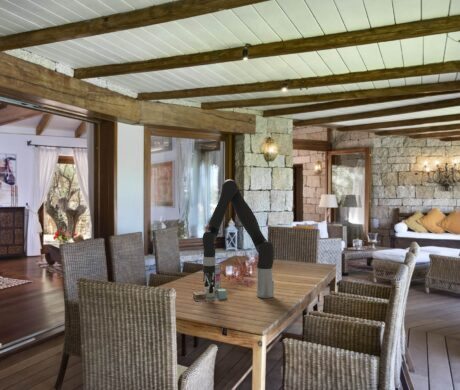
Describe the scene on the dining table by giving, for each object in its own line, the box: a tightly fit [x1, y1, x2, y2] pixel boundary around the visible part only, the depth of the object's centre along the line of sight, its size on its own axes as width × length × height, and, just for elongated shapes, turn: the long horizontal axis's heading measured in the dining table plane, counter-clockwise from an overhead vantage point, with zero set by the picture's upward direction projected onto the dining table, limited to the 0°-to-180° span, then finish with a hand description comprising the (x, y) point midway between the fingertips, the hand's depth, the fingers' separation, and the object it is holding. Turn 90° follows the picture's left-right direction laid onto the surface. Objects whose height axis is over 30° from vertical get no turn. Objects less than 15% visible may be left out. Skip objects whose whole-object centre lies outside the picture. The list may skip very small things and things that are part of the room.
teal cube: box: [216, 288, 227, 300], centre depth 234 cm, size 4×4×4 cm
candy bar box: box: [203, 263, 222, 292], centre depth 254 cm, size 11×5×16 cm, turn 40°
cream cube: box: [203, 286, 216, 297], centre depth 237 cm, size 5×5×5 cm
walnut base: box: [192, 291, 206, 300], centre depth 232 cm, size 6×6×3 cm
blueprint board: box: [191, 292, 226, 302], centre depth 234 cm, size 18×13×1 cm
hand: (208, 291), depth 237 cm, fingers open, 8 cm apart
